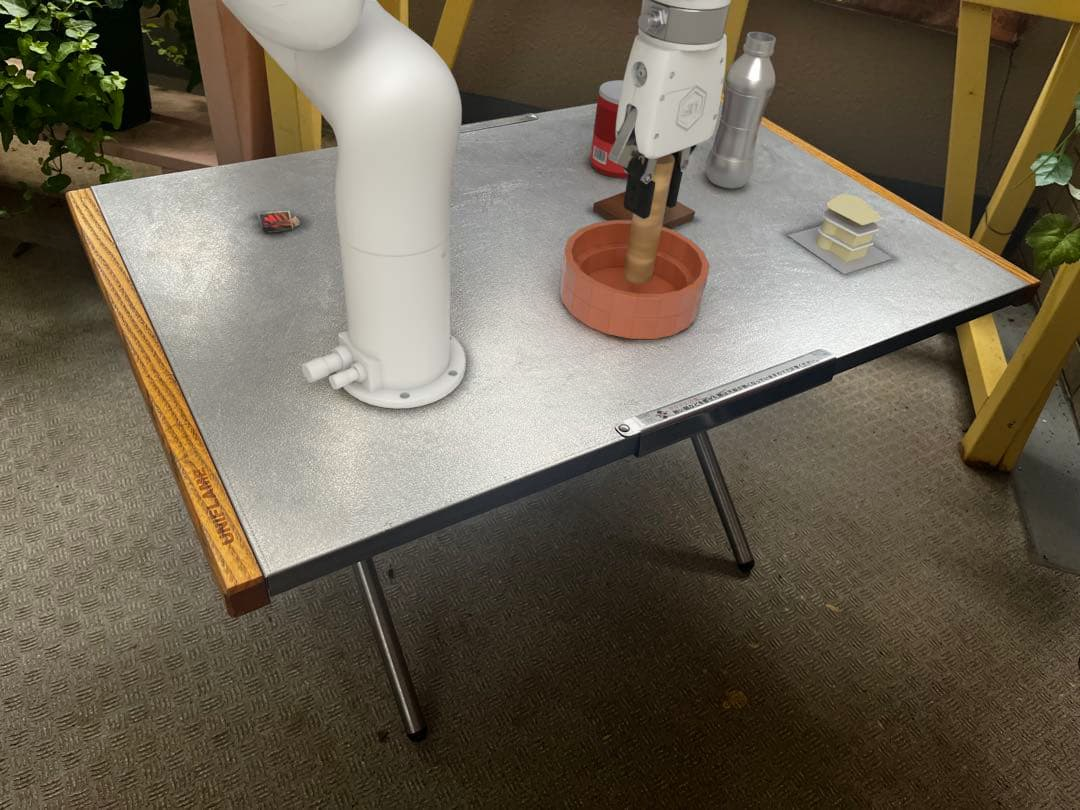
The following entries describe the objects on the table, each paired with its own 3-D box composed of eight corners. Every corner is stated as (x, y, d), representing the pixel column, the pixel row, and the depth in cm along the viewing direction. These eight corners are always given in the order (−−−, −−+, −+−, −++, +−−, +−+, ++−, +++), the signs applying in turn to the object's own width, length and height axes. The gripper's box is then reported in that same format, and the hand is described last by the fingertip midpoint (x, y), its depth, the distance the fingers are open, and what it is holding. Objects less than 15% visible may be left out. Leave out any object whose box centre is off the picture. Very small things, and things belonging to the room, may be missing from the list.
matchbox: (266, 236, 94) (266, 233, 94) (251, 217, 97) (250, 213, 97) (304, 227, 97) (304, 223, 96) (288, 208, 100) (287, 205, 99)
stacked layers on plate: (892, 258, 102) (909, 220, 99) (843, 274, 99) (859, 235, 95) (835, 222, 109) (849, 184, 105) (787, 235, 105) (799, 197, 101)
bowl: (629, 363, 82) (638, 316, 78) (531, 291, 91) (535, 245, 87) (725, 312, 91) (738, 267, 87) (627, 251, 99) (635, 207, 95)
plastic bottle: (721, 197, 111) (759, 48, 98) (692, 176, 116) (725, 30, 102) (757, 189, 114) (798, 43, 100) (727, 169, 118) (763, 26, 105)
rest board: (641, 241, 101) (643, 232, 100) (592, 211, 106) (593, 202, 105) (693, 219, 106) (695, 211, 105) (644, 191, 111) (646, 183, 110)
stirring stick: (637, 287, 87) (659, 167, 77) (617, 274, 89) (636, 154, 79) (657, 278, 89) (681, 159, 79) (637, 265, 90) (658, 146, 81)
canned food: (641, 183, 113) (655, 105, 105) (585, 173, 113) (595, 96, 106) (646, 160, 118) (660, 85, 111) (593, 151, 119) (603, 76, 112)
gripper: (649, 49, 64) (618, 247, 77) (774, 17, 73) (728, 200, 85) (586, 21, 68) (566, 214, 81) (711, -6, 77) (675, 173, 89)
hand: (649, 205), depth 83 cm, fingers closed on stirring stick, 3 cm apart
